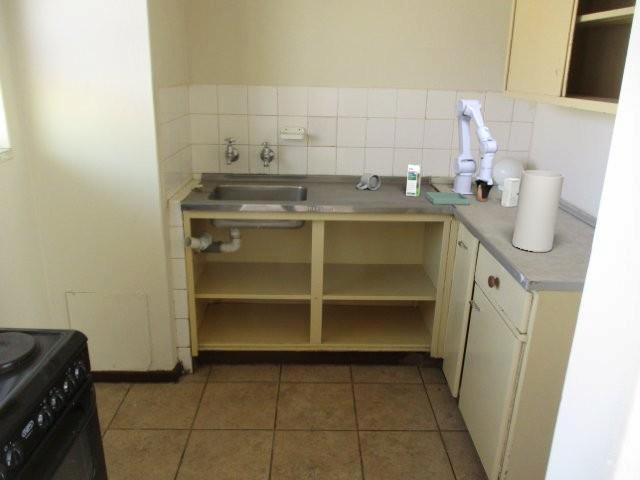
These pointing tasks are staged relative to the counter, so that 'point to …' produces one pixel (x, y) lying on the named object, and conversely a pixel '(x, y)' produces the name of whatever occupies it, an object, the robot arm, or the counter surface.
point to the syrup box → (413, 180)
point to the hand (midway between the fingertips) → (482, 197)
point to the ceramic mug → (369, 181)
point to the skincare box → (510, 192)
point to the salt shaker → (480, 195)
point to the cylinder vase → (537, 210)
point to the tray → (447, 198)
